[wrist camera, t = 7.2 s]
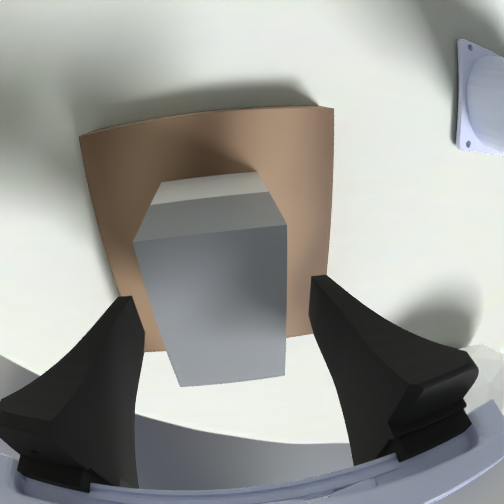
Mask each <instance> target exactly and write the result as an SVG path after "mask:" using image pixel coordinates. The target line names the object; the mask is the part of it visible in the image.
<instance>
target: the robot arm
mask: <svg viewBox="0 0 504 504" xmlns="http://www.w3.org/2000/svg"><path fill="white" fill-rule="evenodd" d="M457 45H458V66H459V100H458V122H457V136H456V146H457V148H458V149H460V150H463V151H472V152H479V153H486V154H493V155H499V156H504V57H502V56H500V55H498V54H496V53H494V52H492V51H490V50H488V49H486V48H484V47H482V46H479V45H477V44H475V43H473V42H470V41H468V40H466V39H459V40H458V43H457ZM468 47H469V49H468ZM466 142H467V145H466ZM308 316H309V319H310V323H311V327H312V330H313V333H314V336H315V339H316V341H317V343H318V346H319V348H320V350H321V353H322V355H323V357H324V360H325V362H326V364H327V367H328V369H329V371H330V374H331V376H332V378H333V381H334V384H335V387H336V390H337V394H338V397H339V401H340V404H341V408H342V412H343V416H344V420H345V424H346V428H347V433H348V437H349V442H350V447H351V452H352V458H353V463H354V466H353V467H350V468H346V469H343V470H339V471H335V472H331V473H328V474H324V475H319V476H315V477H310V478H306V479H300V480H295V481H290V482H284V483H278V484H272V485H264V486H257V487H247V488H237V489H226V490H206V491H205V490H204V491H168V490H166V491H165V490H147V489H139V486H138V478H137V470H136V459H135V439H134V420H135V419H134V418H135V402H136V395H137V389H138V383H139V378H140V372H141V367H142V361H143V356H144V345H145V330H144V328H143V325H142V322H141V320H140V317H139V314H138V311H137V309H136V306H135V303H134V300H133V297H132V296H121V297H118V298H117V299H116V300H115V301H114V302H113V303H112V304H111V306H110V307H109V308H108V309H107V310H106V312H105V313H104V314H103V315H102V316H101V317H100V319H99V320H98V321H97V322H96V323H95V325H94V326H93V327H92V328H91V329H90V330H89V331H88V333H87V334H86V335H85V336H84V337H83V338H82V339H81V340H80V341H79V342H78V343H77V345H76V346H75V347H74V348H73V349H72V350H71V351H70V352H69V353H68V354H66V355H65V356H64V357H63V358H62V359H61V360H60V361H59V362H58V363H56V364H55V365H54V366H53V367H51V368H50V369H49V370H48V371H46V372H45V373H44V374H43V375H41V376H40V377H38V378H37V379H36V380H34V381H33V382H31V383H30V384H28V385H26V386H25V387H23V388H22V389H20V390H18V391H16V392H14V393H13V394H11V395H9V396H7V397H5V398H3V399H1V401H0V438H1V439H2V440H3V441H4V442H6V443H7V444H8V445H9V446H10V447H12V448H13V449H14V450H15V451H16V452H18V453H19V454H20V459H19V460H17V459H15V458H13V457H11V456H8V455H5V454H2V453H0V504H432V503H434V502H436V501H438V500H440V499H442V498H444V497H445V496H447V495H449V494H451V493H453V492H454V491H456V490H458V489H459V488H461V487H462V486H464V485H466V484H468V483H469V482H471V481H472V480H474V479H475V478H477V477H478V476H480V475H481V474H483V473H484V472H485V471H487V470H489V469H490V468H491V467H493V466H494V465H495V464H497V463H498V462H499V461H500V460H502V459H503V458H504V416H503V415H502V413H501V411H500V410H499V408H498V406H497V405H496V403H495V401H494V400H493V399H491V400H489V401H487V402H486V403H484V404H482V405H480V406H479V407H477V408H475V409H474V410H472V411H471V412H470V413H468V414H466V412H465V410H464V409H465V408H466V406H467V404H466V402H465V401H464V399H463V398H464V397H465V395H466V394H467V392H468V391H469V390H470V388H471V387H472V386H473V384H474V383H475V381H476V379H477V377H478V374H479V368H478V367H477V365H476V364H475V362H474V361H473V359H472V358H471V357H470V355H469V354H468V353H467V351H463V350H459V349H456V348H452V347H448V346H444V345H441V344H438V343H435V342H433V341H430V340H427V339H425V338H422V337H420V336H417V335H415V334H413V333H411V332H409V331H406V330H404V329H402V328H400V327H399V326H397V325H395V324H393V323H391V322H390V321H388V320H386V319H384V318H383V317H381V316H380V315H378V314H377V313H375V312H374V311H372V310H371V309H369V308H368V307H366V306H365V305H364V304H362V303H361V302H360V301H358V300H357V299H356V298H354V297H353V296H352V295H350V294H349V293H348V292H347V291H345V290H344V289H343V288H342V287H341V286H339V285H338V284H337V283H336V282H334V281H333V280H332V279H331V278H329V277H328V276H327V275H326V274H325V275H318V276H311V286H310V299H309V312H308ZM326 495H329V496H328V498H326V499H321V500H315V501H309V502H307V501H305V500H310V499H314V498H319V497H323V496H326Z"/></svg>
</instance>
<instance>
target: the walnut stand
mask: <svg viewBox="0 0 504 504" xmlns="http://www.w3.org/2000/svg"><path fill="white" fill-rule="evenodd" d="M79 140H80V146H81V152H82V157H83V162H84V167H85V172H86V177H87V182H88V186H89V191H90V195H91V199H92V203H93V207H94V211H95V215H96V219H97V223H98V226H99V230H100V234H101V237H102V241H103V244H104V247H105V251H106V254H107V257H108V260H109V264H110V267H111V270H112V273H113V276H114V279H115V282H116V285H117V288H118V290H119V293H120V296H132V297H133V300H134V303H135V306H136V309H137V311H138V314H139V317H140V320H141V322H142V325H143V328H144V330H145V345H144V352H156V351H166V348H165V346H164V343H163V340H162V337H161V334H160V331H159V328H158V326H157V323H156V320H155V317H154V313H153V310H152V307H151V304H150V301H149V298H148V295H147V291H146V288H145V285H144V281H143V278H142V274H141V271H140V267H139V264H138V260H137V256H136V253H135V249H134V245H133V241H134V238H135V236H136V234H137V232H138V230H139V227H140V225H141V223H142V221H143V219H144V217H145V215H146V212H147V210H148V208H149V206H150V204H151V202H152V200H153V198H154V196H155V194H156V192H157V190H158V188H159V186H160V184H161V182H167V181H174V180H182V179H190V178H198V177H207V176H216V175H225V174H235V173H246V172H258V173H259V175H260V177H261V179H262V180H263V182H264V184H265V186H266V187H267V189H268V191H269V193H270V194H271V196H272V198H273V200H274V202H275V203H276V205H277V207H278V209H279V211H280V212H281V214H282V216H283V218H284V220H285V221H286V223H287V316H286V338H289V337H295V336H301V335H307V334H313V330H312V327H311V323H310V319H309V316H308V312H309V299H310V286H311V276H318V275H325V274H327V263H328V251H329V239H330V224H331V208H332V187H333V157H334V109H333V108H327V107H322V106H274V107H251V108H236V109H224V110H213V111H204V112H195V113H187V114H180V115H173V116H166V117H160V118H153V119H148V120H142V121H137V122H131V123H126V124H122V125H117V126H112V127H108V128H103V129H99V130H95V131H92V132H89V133H87V134H84V135H82V136H79Z"/></svg>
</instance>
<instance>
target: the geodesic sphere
mask: <svg viewBox="0 0 504 504" xmlns="http://www.w3.org/2000/svg"><path fill="white" fill-rule="evenodd" d="M459 350H463V351H467V353H468V354H469V355H470V357H471V358H472V359H473V361H474V362H475V364H476V365H477V367H478V368H479V374H478V377H477V379H476V381H475V383H474V384H473V386H472V387H471V388H470V390H469V391H468V392H467V394H466V395H465V397H464V398H463V399H464V401H465V402H466V404H467V406H466V408H465V409H464V410H465V412H466V414H468V413H470V412H471V411H472V410H474V409H475V408H477V407H479V406H480V405H482V404H484V403H486V402H487V401H489V400H491V399H493V400H494V401H495V403H496V405H497V406H498V408H499V410H500V411H501V413H502V415H503V416H504V354H502V353H500V352H498V351H496V350H494V349H492V348H490V347H488V346H486V345H483V344H479V345H474V346H469V347H464V348H459Z"/></svg>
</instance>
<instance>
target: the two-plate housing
mask: <svg viewBox="0 0 504 504" xmlns="http://www.w3.org/2000/svg"><path fill="white" fill-rule="evenodd" d="M133 245H134V249H135V253H136V256H137V260H138V264H139V267H140V271H141V274H142V278H143V281H144V285H145V288H146V291H147V295H148V298H149V301H150V304H151V307H152V310H153V313H154V317H155V320H156V323H157V326H158V328H159V331H160V334H161V337H162V340H163V343H164V346H165V348H166V351H167V354H168V357H169V359H170V362H171V364H172V367H173V370H174V372H175V375H176V377H177V380H178V382H179V385H180V387H186V386H201V385H212V384H223V383H232V382H241V381H249V380H257V379H264V378H271V377H278V376H284V375H285V353H286V316H287V223H286V221H285V220H284V218H283V216H282V214H281V212H280V211H279V209H278V207H277V205H276V203H275V202H274V200H273V198H272V196H271V194H270V193H269V191H268V189H267V187H266V186H265V184H264V182H263V180H262V179H261V177H260V175H259V173H258V172H246V173H235V174H225V175H216V176H207V177H198V178H190V179H182V180H174V181H167V182H161V184H160V186H159V188H158V190H157V192H156V194H155V196H154V198H153V200H152V202H151V204H150V206H149V208H148V210H147V212H146V215H145V217H144V219H143V221H142V223H141V225H140V227H139V230H138V232H137V234H136V236H135V238H134V241H133Z"/></svg>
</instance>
